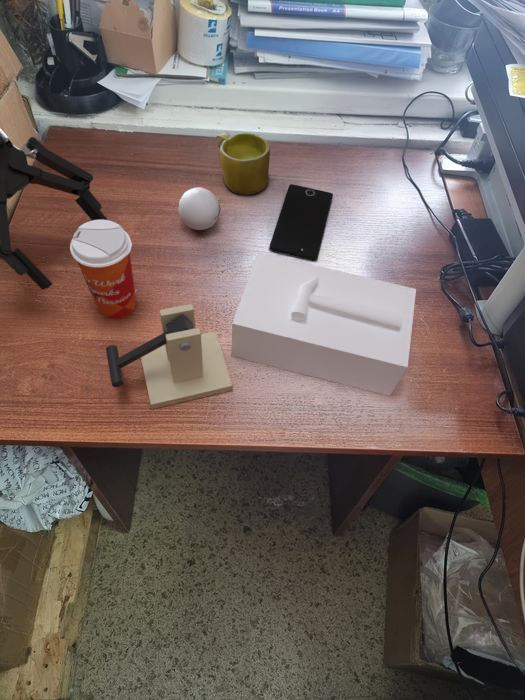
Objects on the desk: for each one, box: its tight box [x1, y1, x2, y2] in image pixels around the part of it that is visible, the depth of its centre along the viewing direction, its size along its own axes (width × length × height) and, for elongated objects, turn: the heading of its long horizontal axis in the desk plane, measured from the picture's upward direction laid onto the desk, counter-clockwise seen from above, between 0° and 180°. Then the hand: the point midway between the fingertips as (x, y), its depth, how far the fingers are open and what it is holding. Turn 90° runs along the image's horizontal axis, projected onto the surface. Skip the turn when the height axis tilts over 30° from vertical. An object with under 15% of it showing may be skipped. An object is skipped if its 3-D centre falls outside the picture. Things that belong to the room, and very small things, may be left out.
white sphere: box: [177, 187, 221, 231], centre depth 91 cm, size 10×7×7 cm
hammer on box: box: [230, 251, 417, 397], centre depth 77 cm, size 14×25×11 cm, turn 76°
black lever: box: [105, 315, 194, 388], centre depth 68 cm, size 13×6×2 cm, turn 107°
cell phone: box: [268, 183, 334, 262], centre depth 95 cm, size 9×18×1 cm, turn 166°
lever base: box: [140, 303, 234, 410], centre depth 71 cm, size 12×10×13 cm
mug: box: [216, 131, 271, 196], centre depth 98 cm, size 12×10×10 cm
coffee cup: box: [69, 219, 137, 320], centre depth 76 cm, size 8×8×15 cm
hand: (80, 258), depth 76 cm, fingers open, 13 cm apart
